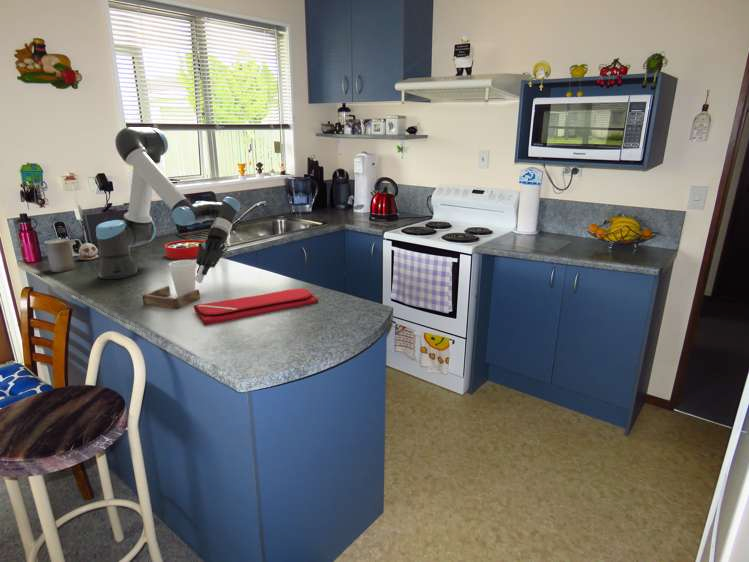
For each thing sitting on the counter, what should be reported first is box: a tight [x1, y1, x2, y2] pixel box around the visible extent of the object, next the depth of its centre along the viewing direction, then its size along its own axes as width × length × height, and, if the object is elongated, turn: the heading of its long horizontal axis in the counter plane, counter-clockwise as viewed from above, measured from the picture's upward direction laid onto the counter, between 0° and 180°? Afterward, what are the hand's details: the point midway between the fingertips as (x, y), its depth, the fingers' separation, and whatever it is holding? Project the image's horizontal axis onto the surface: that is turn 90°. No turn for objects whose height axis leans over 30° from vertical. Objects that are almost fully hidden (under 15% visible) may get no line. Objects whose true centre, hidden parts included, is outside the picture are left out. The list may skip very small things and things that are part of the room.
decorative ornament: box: [78, 229, 100, 261], centre depth 239 cm, size 8×8×15 cm
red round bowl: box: [164, 239, 206, 260], centre depth 248 cm, size 20×6×20 cm
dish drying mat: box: [193, 288, 319, 326], centre depth 172 cm, size 16×41×4 cm, turn 122°
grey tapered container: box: [44, 238, 76, 273], centre depth 220 cm, size 10×10×15 cm
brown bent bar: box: [141, 285, 201, 310], centre depth 178 cm, size 12×15×4 cm
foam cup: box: [168, 259, 197, 298], centre depth 183 cm, size 10×9×13 cm
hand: (197, 281), depth 189 cm, fingers closed
